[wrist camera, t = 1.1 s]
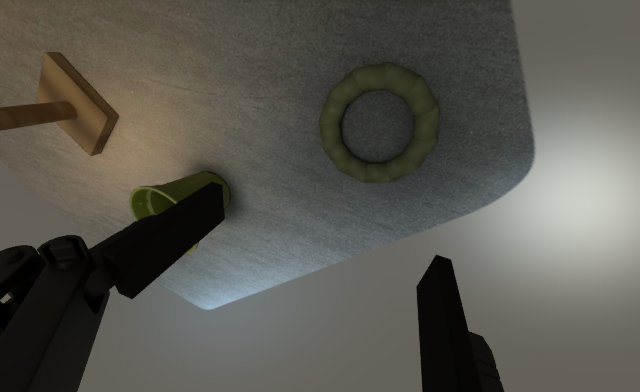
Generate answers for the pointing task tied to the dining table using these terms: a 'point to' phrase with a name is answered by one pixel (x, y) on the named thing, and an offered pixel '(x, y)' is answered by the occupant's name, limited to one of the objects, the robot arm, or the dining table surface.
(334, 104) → the ring
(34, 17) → the dining table surface
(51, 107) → the post
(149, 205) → the plant pot
